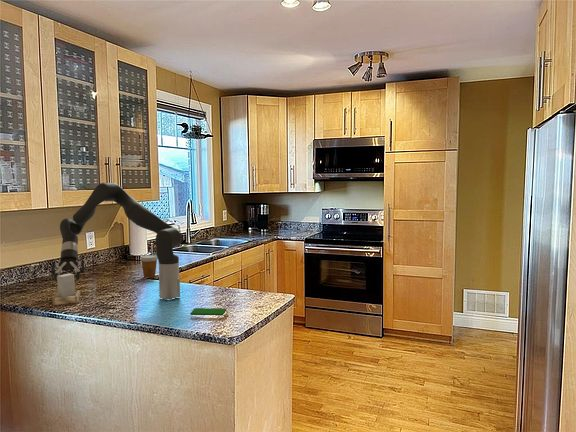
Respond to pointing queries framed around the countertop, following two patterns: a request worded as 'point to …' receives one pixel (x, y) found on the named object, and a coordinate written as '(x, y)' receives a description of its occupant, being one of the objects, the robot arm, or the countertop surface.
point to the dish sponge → (208, 311)
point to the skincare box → (66, 285)
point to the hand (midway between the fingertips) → (67, 280)
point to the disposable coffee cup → (149, 265)
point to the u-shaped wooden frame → (65, 299)
